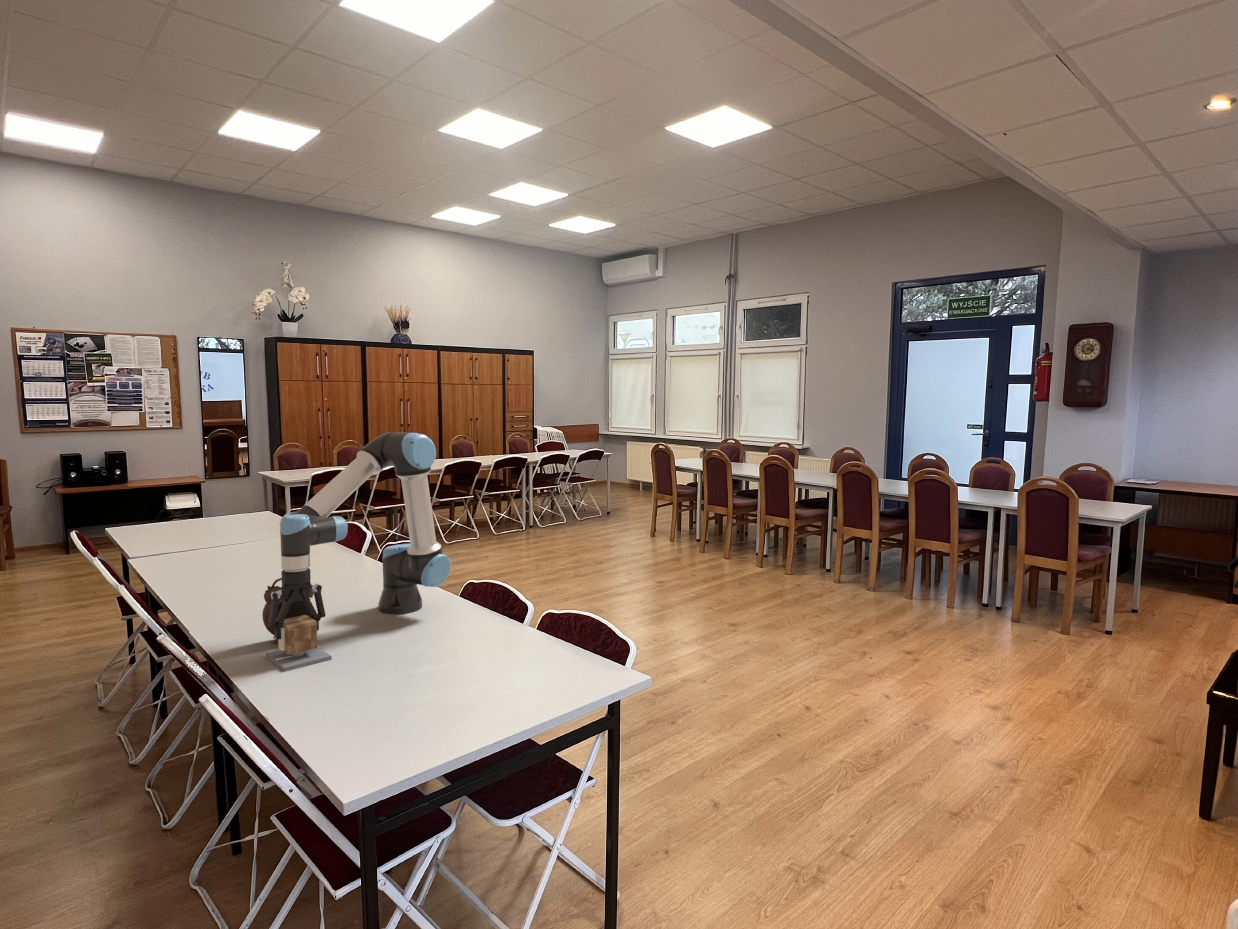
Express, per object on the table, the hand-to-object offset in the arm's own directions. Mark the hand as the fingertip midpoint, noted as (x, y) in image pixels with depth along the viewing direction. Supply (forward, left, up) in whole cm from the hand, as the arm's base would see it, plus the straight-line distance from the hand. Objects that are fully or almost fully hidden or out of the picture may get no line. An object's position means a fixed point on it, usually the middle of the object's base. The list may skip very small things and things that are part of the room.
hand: (297, 645), depth 197 cm
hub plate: (0, 0, -4) cm, 4 cm away
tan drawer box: (0, 0, -1) cm, 1 cm away
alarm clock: (-4, -17, -4) cm, 18 cm away
